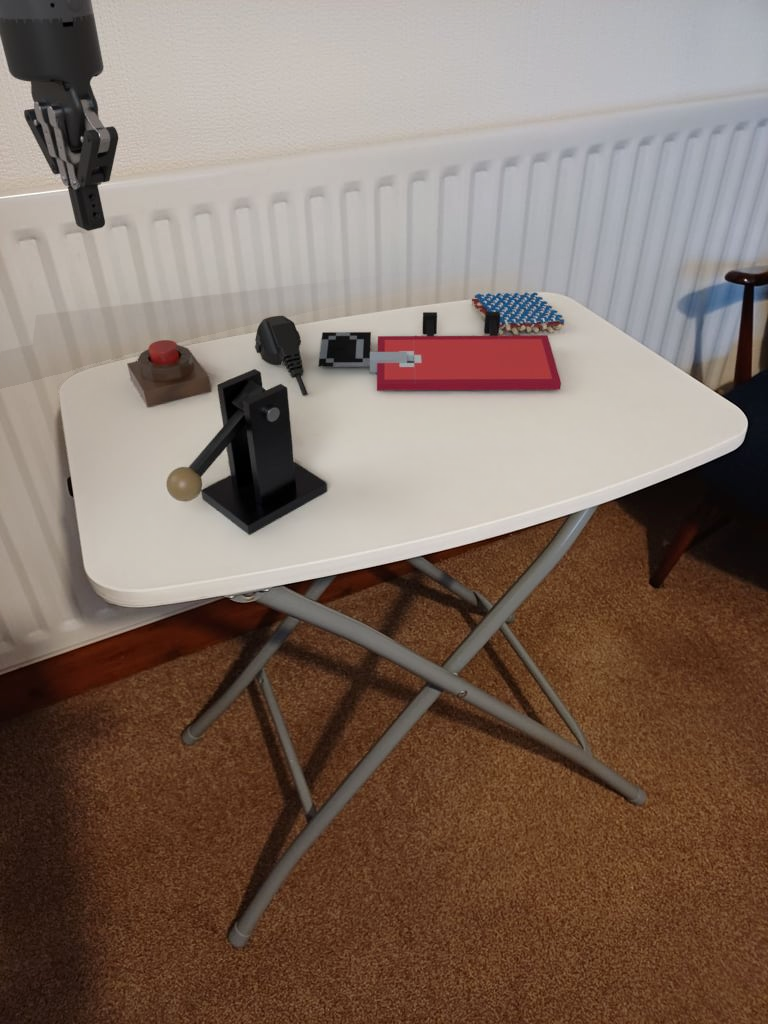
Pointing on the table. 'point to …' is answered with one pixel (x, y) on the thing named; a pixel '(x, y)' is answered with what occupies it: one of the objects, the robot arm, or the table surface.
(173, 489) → the switch lever
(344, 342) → the red board with handle
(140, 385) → the button block
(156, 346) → the button
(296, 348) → the power plug
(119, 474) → the table surface
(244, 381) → the switch bracket
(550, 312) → the woven mat
